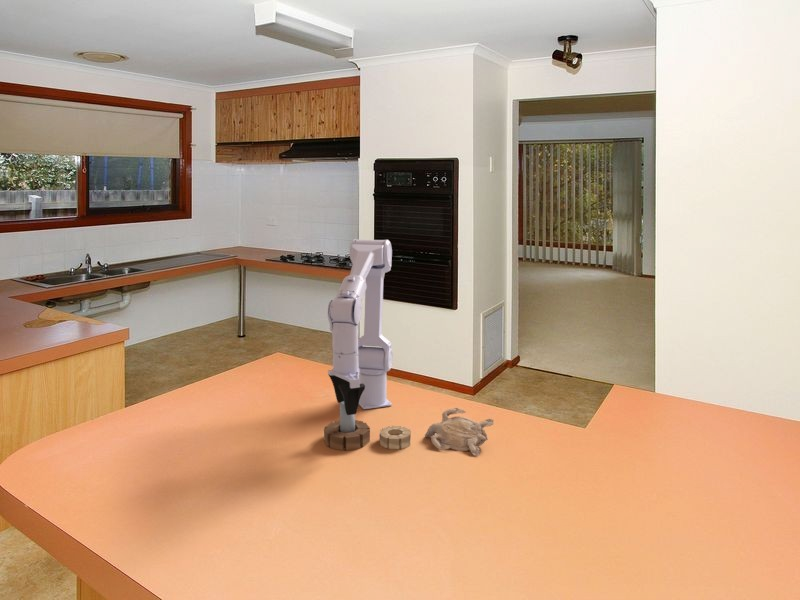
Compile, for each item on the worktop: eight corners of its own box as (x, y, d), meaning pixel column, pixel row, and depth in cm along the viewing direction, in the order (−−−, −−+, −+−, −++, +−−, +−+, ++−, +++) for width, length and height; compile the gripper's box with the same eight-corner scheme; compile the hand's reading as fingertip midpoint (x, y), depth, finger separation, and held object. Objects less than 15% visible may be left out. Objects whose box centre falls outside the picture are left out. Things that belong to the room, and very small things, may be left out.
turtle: (491, 452, 140) (492, 409, 141) (495, 457, 130) (496, 410, 132) (424, 449, 141) (425, 406, 142) (424, 453, 131) (425, 407, 133)
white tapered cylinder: (338, 438, 140) (337, 402, 138) (352, 436, 141) (351, 399, 139) (343, 444, 137) (342, 407, 135) (357, 441, 138) (356, 404, 136)
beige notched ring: (373, 441, 138) (373, 431, 137) (396, 433, 142) (396, 423, 142) (393, 452, 133) (393, 441, 132) (416, 443, 137) (416, 432, 137)
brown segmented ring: (320, 435, 141) (320, 423, 141) (361, 428, 145) (361, 417, 144) (331, 453, 132) (331, 440, 132) (374, 445, 136) (374, 433, 135)
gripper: (320, 344, 140) (321, 399, 142) (336, 362, 126) (338, 422, 129) (349, 341, 142) (350, 395, 145) (368, 358, 129) (369, 417, 132)
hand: (346, 407), depth 137 cm, fingers open, 7 cm apart
